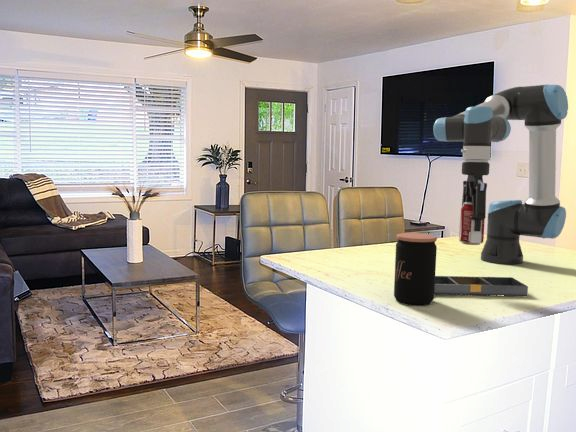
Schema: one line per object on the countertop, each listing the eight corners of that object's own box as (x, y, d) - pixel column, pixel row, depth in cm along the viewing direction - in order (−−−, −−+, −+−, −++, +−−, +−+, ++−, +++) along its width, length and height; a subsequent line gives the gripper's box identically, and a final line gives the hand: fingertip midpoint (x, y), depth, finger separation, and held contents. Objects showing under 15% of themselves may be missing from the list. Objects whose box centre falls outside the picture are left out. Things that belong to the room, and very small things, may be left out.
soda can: (484, 246, 158) (487, 204, 157) (460, 244, 160) (462, 203, 158) (481, 242, 165) (483, 202, 163) (457, 241, 166) (460, 201, 165)
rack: (511, 287, 169) (512, 276, 169) (527, 297, 158) (528, 286, 157) (413, 285, 170) (414, 274, 169) (422, 294, 158) (423, 283, 157)
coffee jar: (389, 296, 156) (391, 232, 154) (426, 296, 157) (429, 232, 155) (400, 306, 145) (402, 238, 143) (439, 306, 146) (443, 238, 144)
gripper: (452, 160, 169) (449, 235, 172) (473, 161, 150) (469, 245, 152) (477, 161, 169) (473, 235, 172) (501, 162, 150) (496, 246, 152)
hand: (471, 240), depth 162 cm, fingers closed on soda can, 7 cm apart
